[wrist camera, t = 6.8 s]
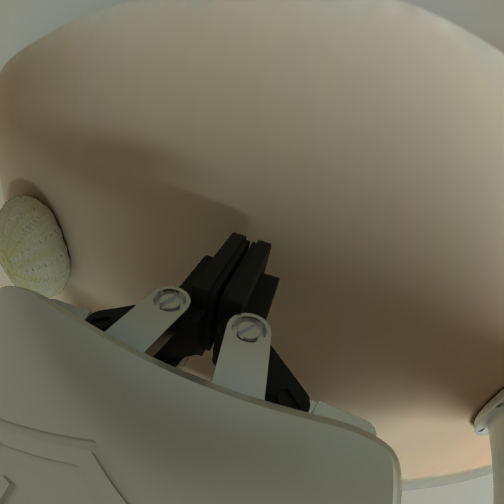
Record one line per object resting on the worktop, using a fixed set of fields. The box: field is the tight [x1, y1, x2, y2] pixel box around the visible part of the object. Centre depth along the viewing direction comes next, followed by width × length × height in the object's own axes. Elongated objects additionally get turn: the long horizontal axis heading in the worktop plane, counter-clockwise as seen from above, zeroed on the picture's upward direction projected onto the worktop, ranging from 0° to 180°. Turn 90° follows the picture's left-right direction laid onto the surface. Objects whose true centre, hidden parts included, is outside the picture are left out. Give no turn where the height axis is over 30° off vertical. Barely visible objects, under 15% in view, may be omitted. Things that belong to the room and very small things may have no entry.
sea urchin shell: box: [0, 195, 71, 298], centre depth 17 cm, size 9×8×8 cm
